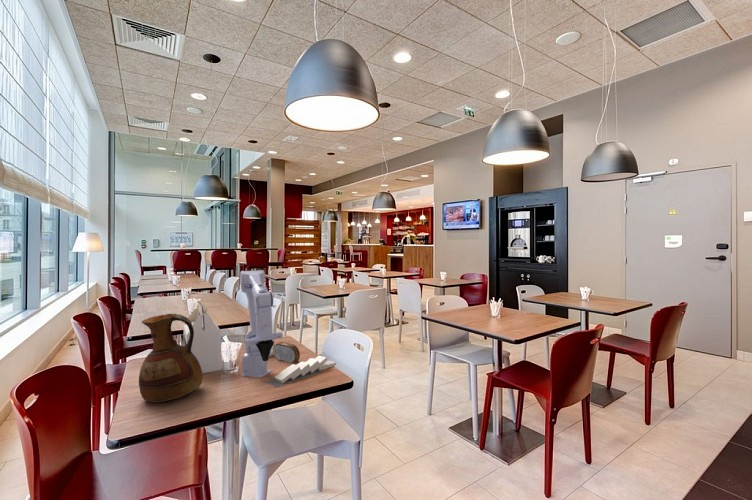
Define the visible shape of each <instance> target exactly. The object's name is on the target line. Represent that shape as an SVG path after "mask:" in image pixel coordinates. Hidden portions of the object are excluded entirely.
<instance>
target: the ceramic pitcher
mask: <svg viewBox="0 0 752 500" xmlns="http://www.w3.org/2000/svg"><path fill="white" fill-rule="evenodd" d="M188 318H189V317H187V316H185V315H182V314H178V313H165V314H159V315H154V316H152V317H148V318H146V319H143V320H142V321H141V324H143V325H144V326H146V327H147V328H148V329H149V331H150V337H151V339H152V341H153V345H152V350H151V351H150V352H149V353H148V354H147V355H146V357H145V358H144V360H143V363H142V365H141V367H140V370H139V376H138V387H139V388H138V389H139V391H140V392H139V393H140V396H141V397H142V399H143V400H144V401H145V402H150V403H160V402H166V401H170V400H175V399H177V398H178V399H179V398H181V397H183V396H185V395H187V394H189V393H191V392H193V391H195V390H197V389H198V388H199V387H201V386H202V383H203V379H204V378H203V377H204V376H203V374H202V369H201V366H200V364H199V361H198V360H197V358H196V357H195V355H194V354H193V353H192V352H191V347H192V342H193V336H194V329H193V326H192V323H191V321H190V320H189V319H188ZM175 321H179V322H183V323H184V324H185V323H186V324H187V326H188V328H189V331H190V337H189V340H188V343H187V344H186V345H185V346H184V345H182V344H181V345H180V344H178V343H177V342H176V341H175V339H174V337H173V333H172V332H173V331H172V324H173V322H175Z"/></svg>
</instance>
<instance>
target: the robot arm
mask: <svg viewBox="0 0 752 500" xmlns="http://www.w3.org/2000/svg"><path fill="white" fill-rule="evenodd" d="M239 281H240V289H241V292H242V293H245V295H246V299H247V306H248V317H249V325H250V330H249V331H248V332H247V333H246V334H245V336H244V352H245V353H244V354H243V356H242V361H241V362H242V363H241V364H242V374H241V377H252V378H254V377H255V378H264V376H266V375H268V374H269V373H270V372H271V371H272V369H268V361H269V358H270V357H269V354H270V351H271V348H272V346H273V344H274V345H275V340H276V339H283V337H284V335H283V334H284V333H283V332H282V331H279V332H273V313H272V312H273V310H272V308H273V307H274V296H273V293H272V291H269V290H268V288H267V285H266V284H265V283H266V273H265V271H264V270H263V269H260V270H241V271H240V273H239ZM273 339H274V341H272V340H273Z"/></svg>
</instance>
